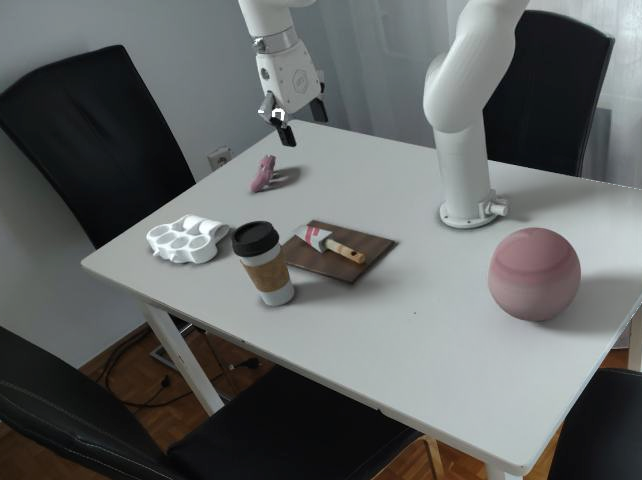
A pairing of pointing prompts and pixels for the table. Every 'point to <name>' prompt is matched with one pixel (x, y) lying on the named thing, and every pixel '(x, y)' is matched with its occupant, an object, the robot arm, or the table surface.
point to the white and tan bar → (326, 242)
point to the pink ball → (534, 274)
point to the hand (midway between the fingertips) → (306, 133)
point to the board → (331, 261)
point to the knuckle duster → (187, 239)
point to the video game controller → (264, 173)
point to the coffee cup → (263, 261)
